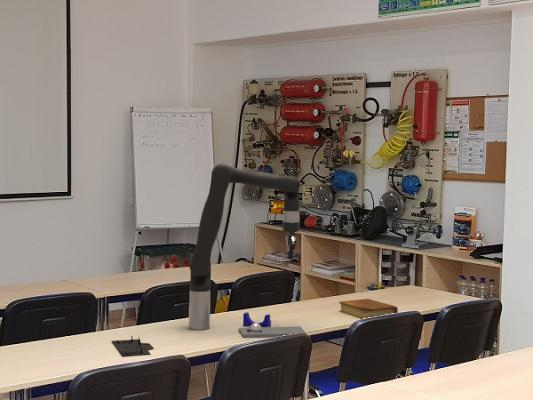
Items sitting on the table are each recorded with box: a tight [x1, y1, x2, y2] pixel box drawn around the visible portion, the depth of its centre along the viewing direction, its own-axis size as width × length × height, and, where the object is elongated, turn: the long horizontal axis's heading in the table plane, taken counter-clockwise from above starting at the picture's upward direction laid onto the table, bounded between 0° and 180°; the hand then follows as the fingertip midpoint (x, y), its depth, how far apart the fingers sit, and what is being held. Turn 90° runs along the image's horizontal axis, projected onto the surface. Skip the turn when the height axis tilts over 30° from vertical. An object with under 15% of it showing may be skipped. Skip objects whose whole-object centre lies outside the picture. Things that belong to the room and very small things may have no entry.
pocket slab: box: [238, 325, 307, 339], centre depth 367 cm, size 28×13×2 cm, turn 99°
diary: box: [338, 298, 399, 320], centre depth 411 cm, size 23×19×6 cm
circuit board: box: [111, 335, 155, 358], centre depth 339 cm, size 25×14×3 cm, turn 20°
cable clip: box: [242, 311, 272, 327], centre depth 381 cm, size 12×4×6 cm, turn 69°
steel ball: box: [250, 322, 261, 333], centre depth 366 cm, size 5×5×5 cm
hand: (290, 259), depth 374 cm, fingers closed
